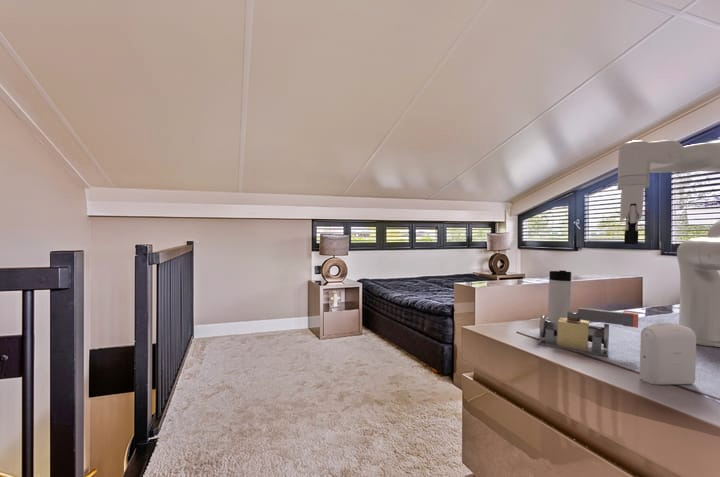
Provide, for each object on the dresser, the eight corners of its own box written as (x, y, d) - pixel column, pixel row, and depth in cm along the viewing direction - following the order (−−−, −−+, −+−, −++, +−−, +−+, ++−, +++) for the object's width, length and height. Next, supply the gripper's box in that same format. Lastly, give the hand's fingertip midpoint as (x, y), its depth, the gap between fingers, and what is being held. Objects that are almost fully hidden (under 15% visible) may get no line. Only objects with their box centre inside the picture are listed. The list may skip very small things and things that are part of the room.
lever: (566, 320, 96) (567, 306, 96) (567, 318, 99) (567, 305, 99) (638, 329, 88) (638, 314, 88) (636, 326, 91) (636, 312, 91)
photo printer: (654, 386, 71) (656, 325, 71) (635, 377, 75) (637, 320, 75) (699, 385, 72) (701, 326, 72) (678, 377, 76) (680, 321, 76)
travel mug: (550, 332, 111) (552, 270, 111) (545, 327, 117) (547, 268, 117) (572, 334, 109) (574, 271, 109) (566, 329, 115) (568, 269, 115)
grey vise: (607, 347, 96) (608, 321, 96) (608, 357, 88) (609, 328, 88) (543, 336, 106) (544, 312, 106) (538, 344, 97) (539, 318, 97)
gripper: (616, 187, 113) (614, 243, 113) (618, 180, 101) (616, 243, 101) (646, 186, 109) (644, 244, 109) (651, 178, 96) (649, 244, 97)
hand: (630, 243), depth 105 cm, fingers closed
